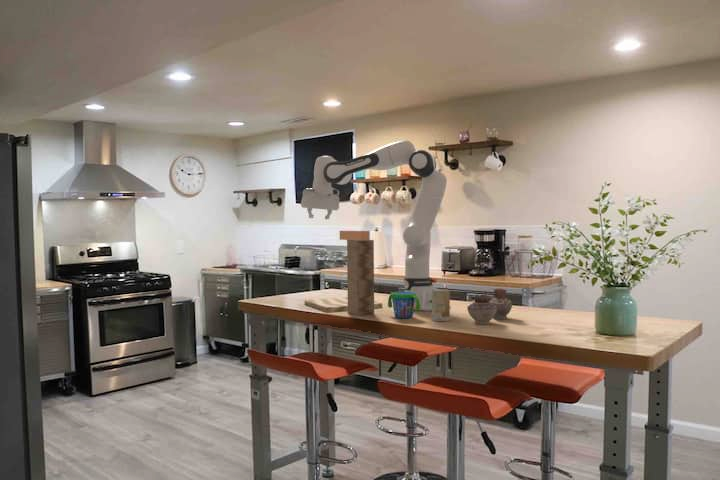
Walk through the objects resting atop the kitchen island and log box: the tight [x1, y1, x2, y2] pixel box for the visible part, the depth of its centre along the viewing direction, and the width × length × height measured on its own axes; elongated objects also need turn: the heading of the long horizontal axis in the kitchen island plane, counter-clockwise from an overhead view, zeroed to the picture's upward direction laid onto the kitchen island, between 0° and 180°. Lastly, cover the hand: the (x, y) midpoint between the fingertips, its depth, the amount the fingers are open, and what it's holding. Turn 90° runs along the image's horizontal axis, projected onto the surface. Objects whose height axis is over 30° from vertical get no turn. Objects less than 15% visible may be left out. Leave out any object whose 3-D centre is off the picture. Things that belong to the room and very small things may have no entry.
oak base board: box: [304, 296, 383, 313], centre depth 266 cm, size 28×28×2 cm
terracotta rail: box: [339, 230, 371, 241], centre depth 243 cm, size 4×22×4 cm, turn 26°
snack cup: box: [387, 291, 420, 319], centre depth 232 cm, size 16×10×10 cm
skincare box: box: [431, 289, 451, 322], centre depth 223 cm, size 6×4×12 cm
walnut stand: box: [346, 239, 375, 316], centre depth 243 cm, size 8×10×32 cm
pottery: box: [466, 288, 514, 325], centre depth 222 cm, size 11×25×12 cm, turn 139°
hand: (319, 218), depth 267 cm, fingers open, 8 cm apart
